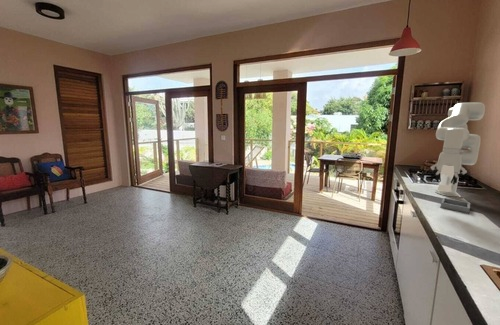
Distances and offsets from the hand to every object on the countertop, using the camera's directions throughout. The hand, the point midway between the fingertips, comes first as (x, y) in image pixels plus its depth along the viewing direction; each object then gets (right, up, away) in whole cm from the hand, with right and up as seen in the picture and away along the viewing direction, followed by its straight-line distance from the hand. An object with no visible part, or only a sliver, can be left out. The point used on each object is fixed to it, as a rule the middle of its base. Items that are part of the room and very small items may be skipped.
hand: (445, 182), depth 132 cm
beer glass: (0, -5, +1) cm, 5 cm away
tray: (+12, -15, +8) cm, 21 cm away
